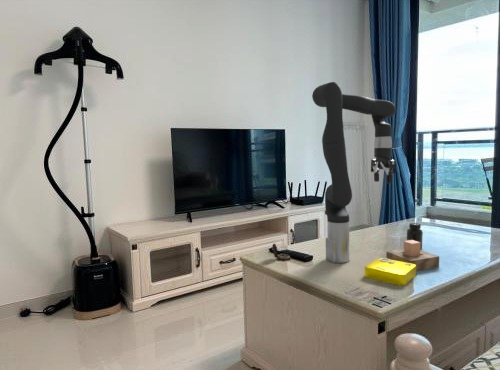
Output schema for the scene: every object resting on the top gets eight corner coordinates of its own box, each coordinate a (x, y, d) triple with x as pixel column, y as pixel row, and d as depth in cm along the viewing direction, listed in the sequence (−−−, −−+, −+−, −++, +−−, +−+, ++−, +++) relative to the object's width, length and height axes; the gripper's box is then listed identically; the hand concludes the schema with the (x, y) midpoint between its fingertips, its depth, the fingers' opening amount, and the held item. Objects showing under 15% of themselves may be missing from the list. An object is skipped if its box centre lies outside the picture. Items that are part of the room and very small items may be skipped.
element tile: (362, 277, 134) (362, 265, 134) (379, 267, 145) (379, 255, 145) (403, 287, 124) (403, 274, 124) (417, 275, 135) (417, 263, 135)
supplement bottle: (405, 249, 166) (406, 224, 165) (406, 245, 172) (407, 221, 171) (422, 251, 163) (422, 225, 161) (422, 247, 169) (423, 222, 167)
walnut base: (410, 272, 137) (410, 260, 137) (386, 261, 151) (386, 251, 150) (439, 267, 142) (439, 256, 141) (412, 257, 155) (413, 247, 154)
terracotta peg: (411, 263, 143) (411, 243, 142) (403, 259, 147) (403, 241, 147) (420, 261, 145) (420, 242, 144) (412, 258, 149) (412, 239, 148)
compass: (292, 260, 156) (292, 244, 156) (275, 261, 155) (274, 245, 154) (287, 255, 164) (287, 239, 164) (271, 256, 163) (270, 240, 162)
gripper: (366, 147, 167) (366, 181, 169) (386, 147, 153) (386, 184, 155) (379, 146, 169) (379, 180, 171) (400, 146, 156) (400, 183, 157)
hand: (382, 182), depth 163 cm, fingers open, 8 cm apart
